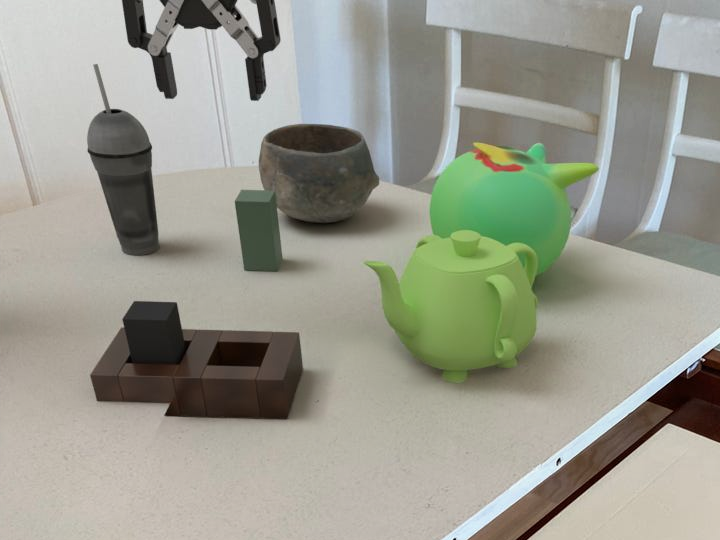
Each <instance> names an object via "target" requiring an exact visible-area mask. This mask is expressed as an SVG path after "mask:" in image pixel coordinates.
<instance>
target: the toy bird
mask: <svg viewBox="0 0 720 540" xmlns="http://www.w3.org/2000/svg"><path fill="white" fill-rule="evenodd" d="M472 145H473V147H475V149H472V150H470V151H467V152H465V153H463V154H461V155H459V156H457V157H456V158H455V159H454V160H452V161H451V162H450V163H449V164H448V165H447V166H446V167H445V168H444V169H443V171H442V172H441V173H440V174H439V177H438V178H437V180H436V182H435V183H434V186H433V189H432V192H431V196H430V202H429V220H430V221H429V222H430V225H431V231H432V235H437V236H439V237H441V238H442V239H444V238H450V237H451V234H452V233H453V232H456V231H460V230H470V231H474V232H477V233H479V234H480V235H481V236H484V237H488V238H491V239H494V240H496V241H498V242H500V243H502V244H504V245H505V246H507V245H509V244H512V243H523V244H526V245H527V246H529V247H530V248H532V249H533V250H534V252H535V253H536V255H537V259H538V267H537V272H536V276H535V277H537V276H539V275H540V274H542V273H544V272H545V271H546V270H548V269H549V268H550V267H551V266H552V265H553V264H554V263H555V262H556V261H557V260H558V258H559V257H560V255H561V254H562V253H563V250H564V249H565V246H566V245H567V242H568V239H569V237H570V232H571V226H572V211H571V210H572V209H571V204H570V199H569V195H568V193H567V190H566V188H567V187H569V186H571V185H574V184H575V183H578V182H580V181H583V180H585V179H587V178H588V177H591V176H593V175H595V174H596V173H597V172H598V171H599V170H600V168H599V166H598V165H597V164H595V163H593V162H592V163H591V162H562V163H559V162H558V163H547V152H546V148H545V145H544V144H543V143H542V142H537V143H535V144H533V145H532V146H530V148H529V149H528V150H527V151H526V152H525V151H522V150H519V149H515V148H513V147H511V146H506V145H491V144H487V143H483V142H478V141H477V142H473V143H472ZM517 256H518V258H519V260H520V262H521V264H522V266H523V268H525V263H526V255H525V254H524V253H519V254H517Z"/></svg>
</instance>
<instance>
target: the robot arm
mask: <svg viewBox="0 0 720 540" xmlns="http://www.w3.org/2000/svg"><path fill="white" fill-rule="evenodd" d="M249 1H250V3H252V4H255V5H256V10H257V15H258V21H259V28H260V32H261V36H260V37H259V36H258V35H257V34H256V32H255V31H254V30H253V29H252V27H251V26H250V24H249V22H248V19H247V18H246V17H245V16H244V14H243V13H242V11H241V10H240V9H239V8H238V6H237V5H236V4H237V2H238V0H159V2H160V3H161V5H162V6H163V7H164V9H163V11H162V13H161V14H160V16H159V19H158V21H157V23H156V25H155V29H154V31H153V33H149V32H148V29H147V22H146V13H145V8H144V0H121V4H122V10H123V12H122V13H123V17H124V25H125V31H126V38H127V39H126V40H127V43H128V45H129V46H130V47H131V48H133V49H140V50H143V51H145V52H146V53H148V54H149V56H150V58H151V62H152V68H153V73H154V77H155V78H154V79H155V83H156V88H157V89H158V91H159V93H163V95H164V98H165V99H166V100H173V99H175V98H176V97H177V96H178V87H177V82H176V76H175V69H174V64H173V58H172V54H171V53H172V52H171V51H170V52H169V51H168V46H169V43H170V41H171V39H172V37H173V35H174V33H175V32H176V30H177V29H178V27H179V26H181V27H183V29H184V30H193V29H196V28H203V29H206V30H213V31H214V30H216V31H217V30H218V29H219V28H221V27H223V29H224V30H225V32H227V34H228V35H229V36H230V38H232V39H233V40H234V41H235V42H236V43H237V45H239V47H240V48H241V49H242V51H243V52H244V53H245V55H246V56H247V57H246V58H245V59H244V62H245V69H246V77H247V87H248V93H249V99H250V101H252V102H259V101H260V100H261V98H262V95H263V94H265V92H266V89H267V78H266V70H265V61H264V59H265V58H264V55H265V54H267V53H269V52H274V50H275V49H276V48H278V46H279V45H280V43H281V33H280V26H279V20H278V13H277V8H276V1H275V0H249Z"/></svg>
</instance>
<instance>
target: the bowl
mask: <svg viewBox="0 0 720 540" xmlns="http://www.w3.org/2000/svg"><path fill="white" fill-rule="evenodd" d="M258 171H259V177H260V182H261V184H262V188H263V190H269V191H275V195H276V204H277V210H279V211H281V212H283V213H284V214H285V215H286V216H288V217H290V218H293V219H295V220H298V221H304V222H307V223H315V224H316V223H317V224H329V223H337V222H341V221H345V220H346V219H349V218H350V217H351V216H352V215H354V214H355V213H356V212H357V211H358V210H359V209H361V208H362V207H363V206H364V205H365V204H366V202H367V201H368V199H369V197H370V195H371V194H372V192H373V190H374V189H376V188H377V187H378V186H380V176H378V174H377V173H376V171H375V168H374V163H373V160H372V156H371V152H370V149H369V147H368V144H367V142H366V139H365V137H364V135H363V134H362V133H361V132H360V131H358V130H356V129H353V128H350V127H345V126H340V125H332V124H322V123H295V124H288V125H284V126H281V127H278V128H275V129H273V130H271V131H269V132H267V133H266V134H265V135H264V136H263V138H262V140H261V143H260V149H259V157H258Z"/></svg>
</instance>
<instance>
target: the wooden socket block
mask: <svg viewBox="0 0 720 540" xmlns="http://www.w3.org/2000/svg"><path fill="white" fill-rule="evenodd" d="M182 332H183V337H184V343H185V348H186V353H185V355H184V357H183V359H182V361H181V363H180V365H170V364H133V363H132V359H131V355H130V351H129V346H128V342H127V338H126V333H125V329H124V326H122V327H120V328H119V330H118V332H117V333H116V334H115V336H114V337H113V338H112V341H111V342H110V344H108V346H107V348H106V350H105V351H104V353H103V354H102V356H101V357H100V359H99V360H98V362H97V363H96V365H95V366H94V368H93V369H92V371H91V373H90V374H89V377H90V380H91V384H92V388H93V391H94V395H95V398H96V402H104V403H105V402H110V403H141V404H142V403H144V404H145V403H147V404H148V403H149V404H169V405H168V407H167V409H166V411H165V413H164V414H163V416H165V417H191V418H192V417H197V418H233V419H266V420H267V419H268V420H269V419H270V420H271V419H272V420H274V419H275V420H287V419H289V417H290V413H291V410H292V406H293V403H294V400H295V396H296V394H297V391H298V387H299V384H300V381H301V377H302V374H303V371H304V366H303V365H304V364H303V355H302V345H301V336H300V332H299V331H295V332H294V331H272V330H271V331H267V330H266V331H265V330H264V331H263V330H236V329H235V330H234V329H233V330H232V329H231V330H230V329H225V330H224V329H196V328H195V329H194V328H192V329H191V328H182Z"/></svg>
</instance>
